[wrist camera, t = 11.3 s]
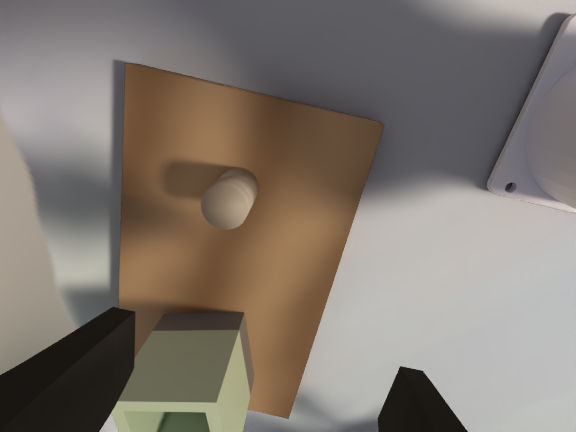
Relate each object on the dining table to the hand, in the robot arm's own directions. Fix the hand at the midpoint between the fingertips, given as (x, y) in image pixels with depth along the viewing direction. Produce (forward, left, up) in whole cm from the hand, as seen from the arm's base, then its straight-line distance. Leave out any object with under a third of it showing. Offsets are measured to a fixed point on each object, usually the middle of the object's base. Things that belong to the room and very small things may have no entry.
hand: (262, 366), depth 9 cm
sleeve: (+3, +9, -9) cm, 13 cm away
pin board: (+3, +4, -10) cm, 11 cm away
